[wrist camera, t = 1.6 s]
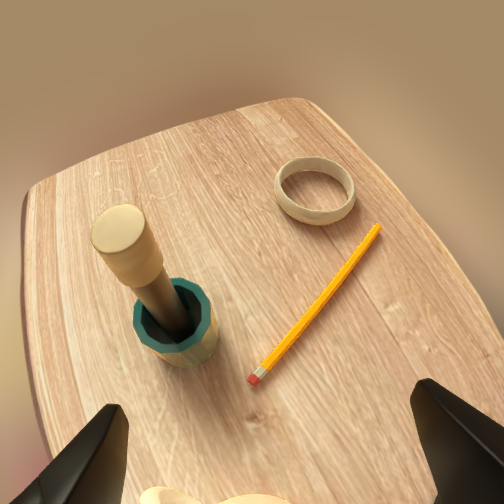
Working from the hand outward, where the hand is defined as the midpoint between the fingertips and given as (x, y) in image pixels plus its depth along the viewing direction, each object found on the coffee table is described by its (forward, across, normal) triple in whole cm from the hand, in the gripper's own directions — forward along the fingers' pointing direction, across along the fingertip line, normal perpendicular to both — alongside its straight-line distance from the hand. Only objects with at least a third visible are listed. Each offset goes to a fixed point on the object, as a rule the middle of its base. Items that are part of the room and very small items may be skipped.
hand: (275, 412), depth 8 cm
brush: (+14, +5, +8) cm, 17 cm away
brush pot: (+14, +5, +8) cm, 17 cm away
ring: (+25, -7, 0) cm, 26 cm away
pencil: (+16, -6, +7) cm, 18 cm away
